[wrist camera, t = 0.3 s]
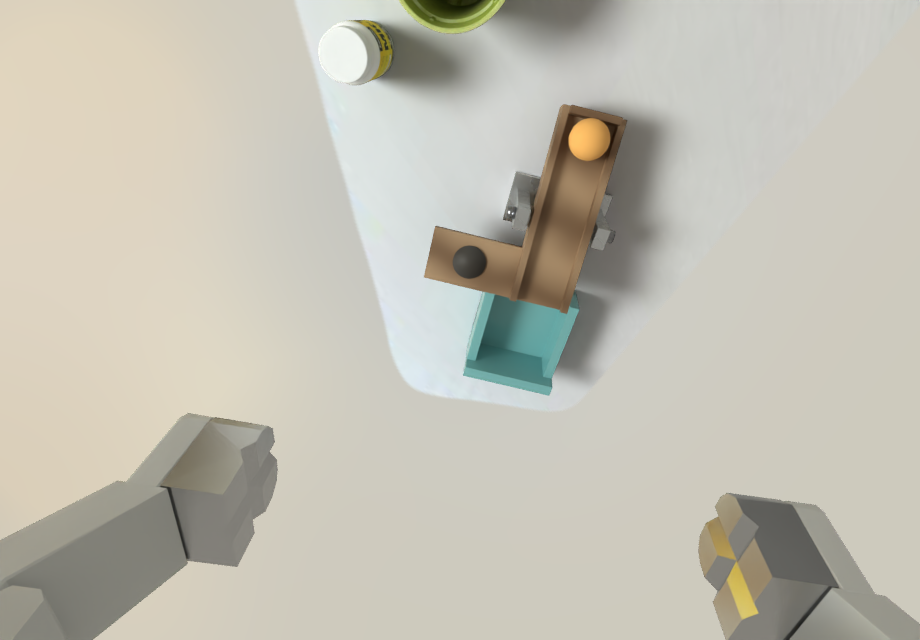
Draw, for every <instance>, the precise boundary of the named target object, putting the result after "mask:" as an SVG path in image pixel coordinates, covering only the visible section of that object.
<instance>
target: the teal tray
mask: <svg viewBox="0 0 920 640" xmlns="http://www.w3.org/2000/svg"><path fill="white" fill-rule="evenodd" d="M578 312H579V305H578V301H577V296H576V291H575V290H574V293H573V296H572V300H571V303H570V306H569V309H568V313H567V314H565V313H561V312H560V310H558V309H554V308H550V307H545V306H541V305H537V304H533V303H529V302H525V301H521V300H516V302H515V301H511V300H510V299H509V298H508V297H504V296H500V295H496V294H491V293H487V292H482V295H481V299H480V303H479V306H478V310H477V313H476V317H475V321H474V324H473V328H472V331H471V335H470V338H469V342H468V346H467V353H466V359H465V366H464V373H463V376H468V377H472V378H476V379H480V380H485V381H489V382H493V383H498V384H502V385H506V386H510V387H515V388H519V389H523V390H527V391H532V392H536V393H540V394H544V395H550V392H551V390H552V376H553V374H554V371H555V369H556V366H557V364H558V361H559V359H560V356H561V354H562V351H563V349H564V347H565V344H566V342H567V339H568V337H569V334H570V332H571V329H572V327H573V324H574V322H575V319H576V317H577V314H578Z"/></svg>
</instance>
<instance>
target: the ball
mask: <svg viewBox="0 0 920 640" xmlns="http://www.w3.org/2000/svg"><path fill="white" fill-rule="evenodd" d="M609 143H610V132H609V129H608V127H607V126H606V125H605V124H604V123H603V122H602V121H601V120H599V119H595V118H587V119H584V120H581V121H580V122H578V123H577V124H576V125H575V126H574V127H573V128H572V130H571V132H570V135H569V147H570V150H571V152H572V153H573V155H574V156H575V157H577V158H578V159H581V160H584V161H592V160H595V159H597V158H599V157H601V156H602V155H603V154H604V153H605V152H606V150H607V149H608V146H609Z"/></svg>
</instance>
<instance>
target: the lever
mask: <svg viewBox="0 0 920 640" xmlns="http://www.w3.org/2000/svg"><path fill="white" fill-rule="evenodd" d="M587 118H595V119H599V120H601V121H602V122H603V123H604V124H605V125H606V126H607V127H608V129H609V132H610V143H609V146H608V149H607V150H606V152H605V153H604V154H603V155H602V156H601V157H599V158H597V159H595V160H592V161H584V160H581V159H578V158H577V157H575V156H574V155H573V153H572V152H571V150H570V147H569V135H570V132H571V130H572V128H573V127H574V126H575V125H576V124H577V123H578V122H580V121H581V120H584V119H587ZM626 123H627V120H624V119H623V118H622V117H618V116H614V115H610V114H606V113H602V112H598V111H594V110H590V109H587V108H583V107H579V106H575V105H571V106H569V105H565V104H564V105H562V106H561V107H560V110H559V114H558V117H557V121H556V125H555V128H554V132H553V135H552V139H551V143H550V146H549V150H548V154H547V157H546V161H545V165H544V168H543V172H542V176H541V179H540V183H539V187H538V190H537V194H536V198H535V201H534V205H533V209H532V212H531V216H530V220H529V223H528V227H527V230H526V234H525V238H524V241H523V245H522V247H521V246H516V245H512V244H508V243H504V242H500V241H496V240H492V239H488V238H484V237H480V236H476V235H471V234H467V233H463V232H459V231H455V230H451V229H447V228H443V227H439V226H435V230H434V234H433V239H432V243H431V248H430V252H429V257H428V261H427V266H426V270H425V275H424V277H425V278H429V279H433V280H437V281H442V282H446V283H450V284H454V285H458V286H462V287H467V288H471V289H475V290H479V291H483V292H487V293H491V294H496V295H500V296H504V297H508V298H509V299H510V300H511V301H515V302H516V300H521V301H525V302H529V303H533V304H537V305H541V306H545V307H550V308H554V309H558V310H560V312H561V313H565V314H567V313H568V309H569V306H570V303H571V300H572V296H573V293H574V290H575V287H576V284H577V280H578V277H579V274H580V271H581V267H582V264H583V261H584V258H585V255H586V251H587V248H588V245H589V242H590V239H591V235H592V232H593V229H594V226H595V222H596V219H597V216H598V213H599V210H600V206H601V203H602V200H603V197H604V193H605V190H606V187H607V184H608V181H609V177H610V174H611V171H612V168H613V165H614V161H615V158H616V155H617V152H618V148H619V145H620V142H621V139H622V136H623V132H624V129H625V126H626Z"/></svg>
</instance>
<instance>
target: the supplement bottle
mask: <svg viewBox="0 0 920 640" xmlns="http://www.w3.org/2000/svg"><path fill="white" fill-rule="evenodd" d="M318 53H319V60H320V63H321V65H322V67H323V69H324V71H325V72H326V73H327V75H328V76H330V77H331V78H332V79H334V80H335V81H337V82H340V83H346V84H349V85H361V84H364V83H367V82H369V81H371V80H374V79H376V78H378V77H380V76H382V75H384V74H385V73H386V72H387V71H388V70H389V68H390V67H391V65H392V62H393V58H394V46H393V42H392V39H391V37H390V35H389V33H388V32H387V31H386V30H385V29H384V28H383V27H382V26H381V25H379V24H378V23H376V22H373V21H369V20H353V21H352V20H351V21H350V20H349V21H342V22H339V23H337V24H335V25H334V26H333V27H332V28H330V30H328V31H327V32H326V33H325V34H324V35H323V37H322V38H321V41H320V44H319V50H318Z"/></svg>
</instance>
